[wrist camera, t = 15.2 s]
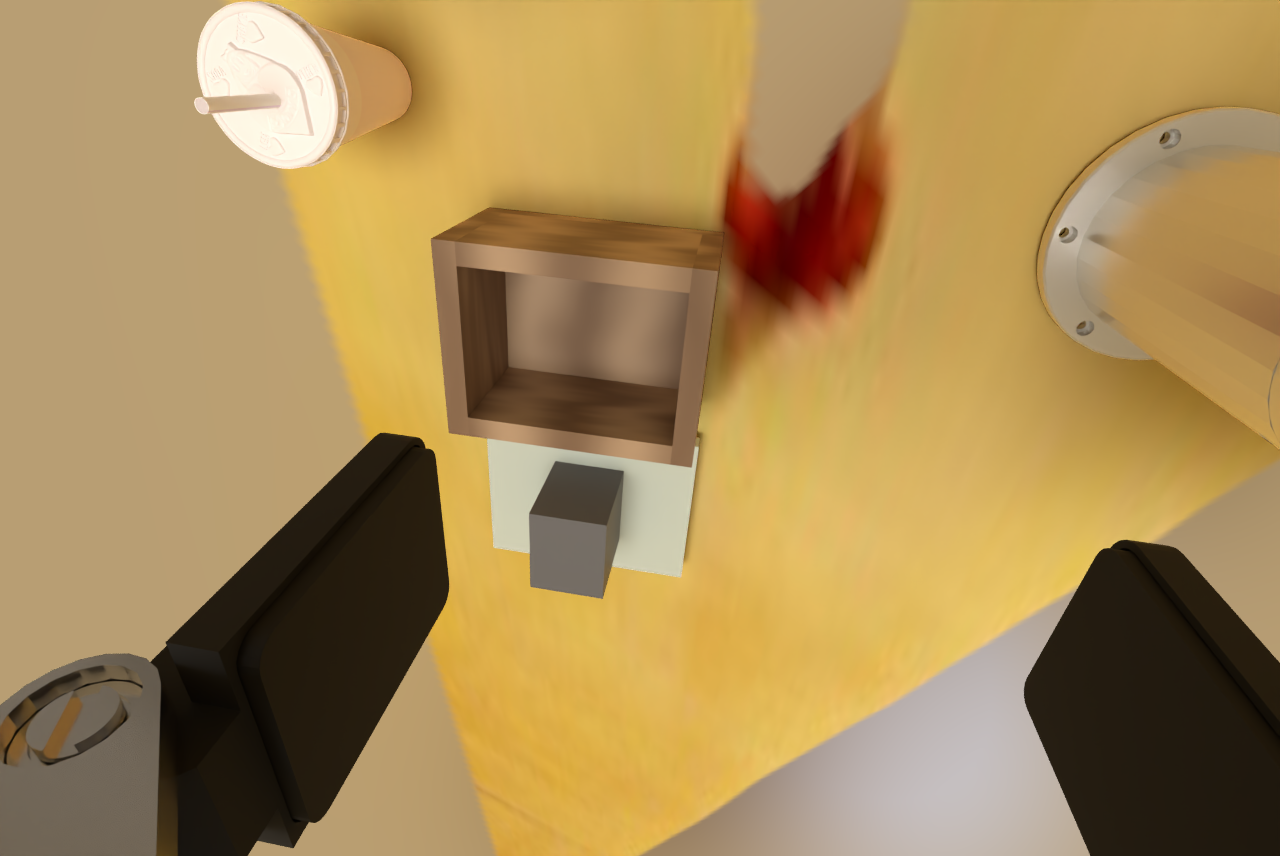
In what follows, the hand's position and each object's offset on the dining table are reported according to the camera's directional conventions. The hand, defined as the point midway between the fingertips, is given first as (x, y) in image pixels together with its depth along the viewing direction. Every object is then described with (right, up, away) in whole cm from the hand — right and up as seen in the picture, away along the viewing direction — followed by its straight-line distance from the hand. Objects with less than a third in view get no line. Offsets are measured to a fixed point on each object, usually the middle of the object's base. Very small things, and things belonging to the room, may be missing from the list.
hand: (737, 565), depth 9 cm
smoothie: (-16, +21, +26) cm, 37 cm away
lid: (-5, -3, +37) cm, 37 cm away
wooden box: (-4, +9, +31) cm, 32 cm away
